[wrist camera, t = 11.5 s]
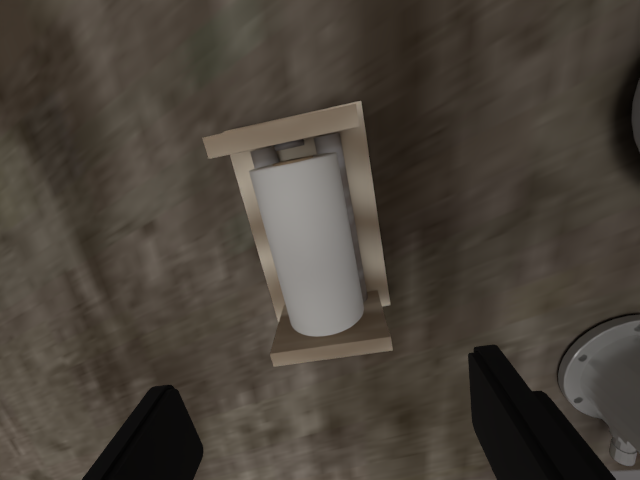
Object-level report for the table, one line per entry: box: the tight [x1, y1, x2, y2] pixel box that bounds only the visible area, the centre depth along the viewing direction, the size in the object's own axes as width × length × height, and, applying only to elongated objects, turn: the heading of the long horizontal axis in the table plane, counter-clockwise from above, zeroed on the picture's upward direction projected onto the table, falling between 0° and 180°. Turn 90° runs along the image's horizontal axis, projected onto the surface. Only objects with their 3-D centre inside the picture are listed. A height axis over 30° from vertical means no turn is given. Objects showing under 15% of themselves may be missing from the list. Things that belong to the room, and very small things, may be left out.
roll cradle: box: [203, 101, 393, 367], centre depth 23 cm, size 18×11×8 cm, turn 11°
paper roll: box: [249, 152, 364, 337], centre depth 22 cm, size 12×6×6 cm, turn 12°
